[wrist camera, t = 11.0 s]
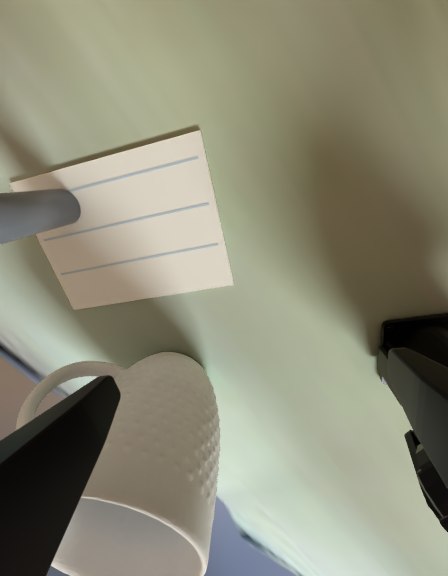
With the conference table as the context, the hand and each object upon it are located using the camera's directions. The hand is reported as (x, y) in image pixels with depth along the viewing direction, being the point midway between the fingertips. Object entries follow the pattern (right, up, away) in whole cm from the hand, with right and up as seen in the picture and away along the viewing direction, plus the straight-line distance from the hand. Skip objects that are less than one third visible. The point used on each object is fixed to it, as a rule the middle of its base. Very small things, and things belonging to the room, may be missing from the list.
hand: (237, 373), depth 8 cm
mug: (-6, -6, +17) cm, 19 cm away
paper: (-8, +7, +12) cm, 16 cm away
